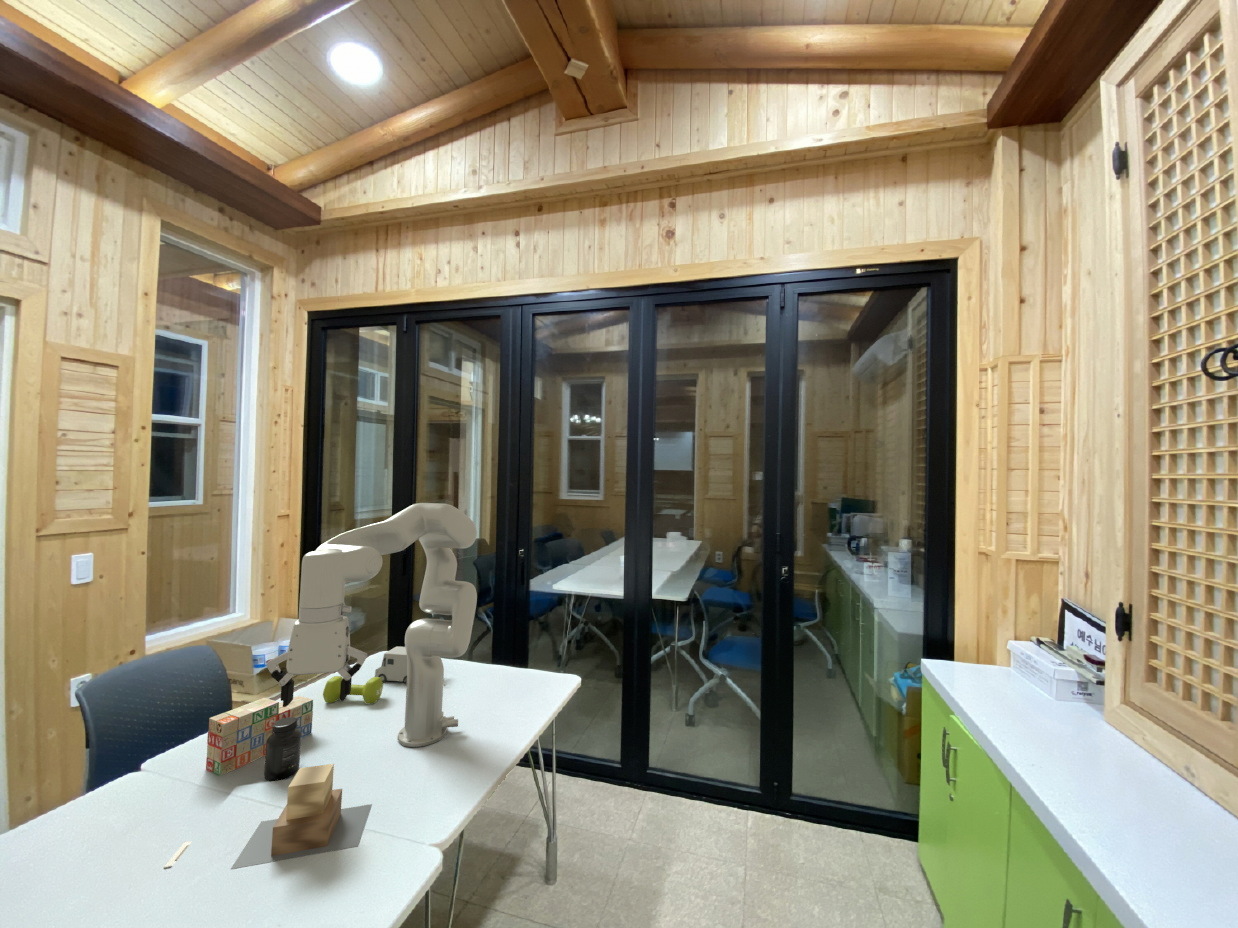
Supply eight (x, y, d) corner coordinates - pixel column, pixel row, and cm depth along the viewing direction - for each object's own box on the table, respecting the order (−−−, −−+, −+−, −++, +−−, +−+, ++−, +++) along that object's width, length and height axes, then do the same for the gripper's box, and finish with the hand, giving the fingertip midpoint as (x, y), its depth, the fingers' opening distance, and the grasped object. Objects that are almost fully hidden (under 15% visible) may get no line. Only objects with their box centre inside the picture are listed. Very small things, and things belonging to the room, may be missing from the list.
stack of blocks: (297, 728, 130) (300, 683, 131) (311, 733, 127) (314, 688, 128) (204, 769, 110) (208, 717, 111) (219, 777, 108) (223, 723, 108)
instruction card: (234, 835, 90) (234, 833, 90) (217, 858, 84) (217, 857, 84) (184, 843, 88) (184, 841, 88) (163, 868, 82) (163, 866, 82)
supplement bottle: (302, 762, 114) (305, 712, 115) (294, 779, 108) (297, 726, 108) (269, 768, 111) (272, 717, 112) (259, 785, 105) (262, 731, 106)
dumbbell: (384, 696, 151) (386, 673, 151) (371, 707, 143) (373, 684, 143) (335, 694, 151) (336, 672, 151) (319, 706, 143) (320, 682, 143)
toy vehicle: (387, 672, 170) (389, 645, 170) (433, 675, 168) (435, 647, 169) (372, 682, 161) (374, 653, 162) (421, 686, 159) (422, 656, 160)
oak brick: (332, 793, 94) (333, 763, 94) (322, 814, 88) (324, 781, 88) (297, 799, 92) (299, 768, 92) (286, 819, 86) (288, 786, 86)
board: (371, 809, 98) (371, 803, 98) (357, 852, 87) (358, 846, 87) (260, 827, 92) (261, 821, 92) (230, 876, 81) (230, 868, 81)
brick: (340, 813, 95) (342, 788, 95) (327, 845, 87) (328, 818, 87) (290, 821, 92) (291, 795, 93) (270, 855, 84) (272, 827, 84)
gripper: (373, 606, 98) (369, 688, 97) (278, 610, 93) (272, 697, 92) (365, 615, 91) (360, 704, 90) (261, 621, 86) (255, 715, 85)
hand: (316, 700), depth 91 cm, fingers open, 9 cm apart
